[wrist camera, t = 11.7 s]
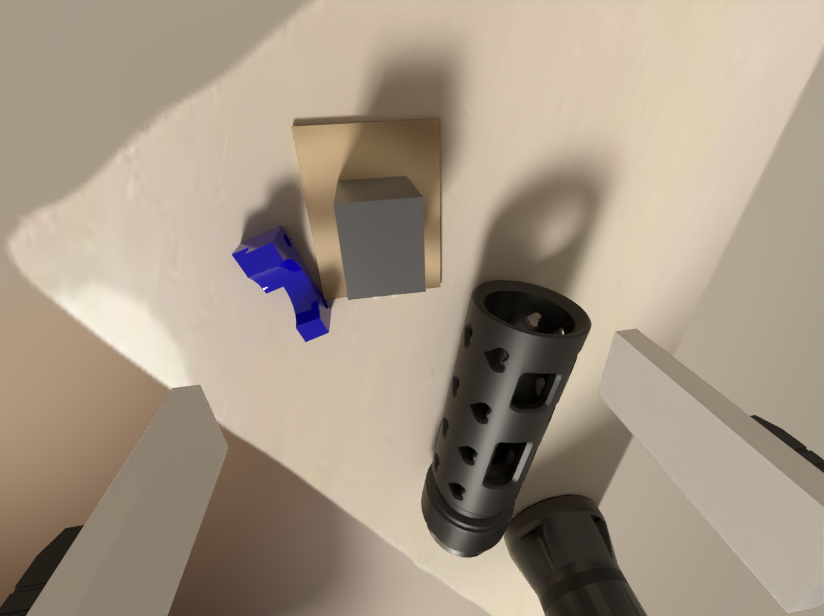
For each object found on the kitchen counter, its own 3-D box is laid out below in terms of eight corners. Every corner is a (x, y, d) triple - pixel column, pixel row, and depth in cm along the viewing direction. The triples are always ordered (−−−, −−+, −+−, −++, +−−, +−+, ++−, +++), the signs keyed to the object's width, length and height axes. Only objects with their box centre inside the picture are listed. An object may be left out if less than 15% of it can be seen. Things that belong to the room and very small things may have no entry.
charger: (411, 270, 30) (426, 312, 24) (351, 277, 29) (351, 321, 23) (406, 175, 26) (423, 196, 20) (337, 180, 25) (333, 203, 19)
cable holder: (241, 242, 27) (225, 262, 24) (282, 224, 27) (272, 242, 24) (295, 322, 31) (288, 349, 28) (331, 307, 31) (328, 332, 28)
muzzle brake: (550, 277, 33) (625, 341, 24) (482, 473, 46) (514, 560, 37) (452, 271, 31) (493, 337, 22) (411, 476, 44) (426, 570, 35)
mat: (439, 285, 31) (440, 286, 31) (324, 297, 30) (324, 299, 30) (438, 118, 25) (439, 118, 24) (292, 126, 24) (291, 126, 23)
